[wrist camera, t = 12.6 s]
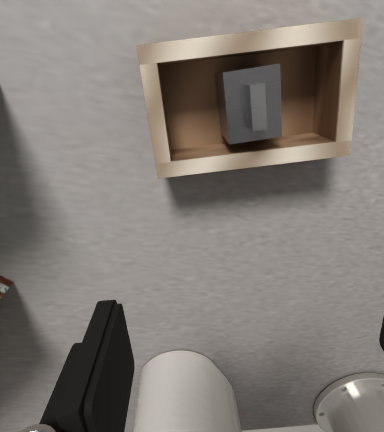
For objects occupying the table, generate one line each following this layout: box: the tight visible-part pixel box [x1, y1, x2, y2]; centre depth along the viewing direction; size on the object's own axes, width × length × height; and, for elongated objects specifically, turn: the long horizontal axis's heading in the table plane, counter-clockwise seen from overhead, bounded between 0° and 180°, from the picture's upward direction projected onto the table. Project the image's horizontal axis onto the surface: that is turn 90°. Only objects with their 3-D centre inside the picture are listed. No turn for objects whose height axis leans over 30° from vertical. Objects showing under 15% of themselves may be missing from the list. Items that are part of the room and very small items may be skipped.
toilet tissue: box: [133, 351, 242, 432], centre depth 37 cm, size 11×12×10 cm
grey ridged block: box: [215, 64, 282, 144], centre depth 24 cm, size 4×5×6 cm
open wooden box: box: [136, 18, 364, 178], centre depth 25 cm, size 15×9×5 cm, turn 96°
